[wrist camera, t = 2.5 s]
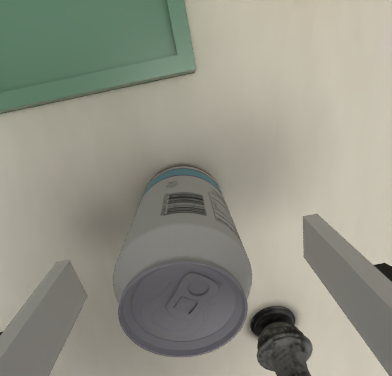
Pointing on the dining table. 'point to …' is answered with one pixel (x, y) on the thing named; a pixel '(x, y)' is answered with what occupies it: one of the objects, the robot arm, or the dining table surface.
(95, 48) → the tray
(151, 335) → the beverage can
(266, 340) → the salt shaker
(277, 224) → the dining table surface
